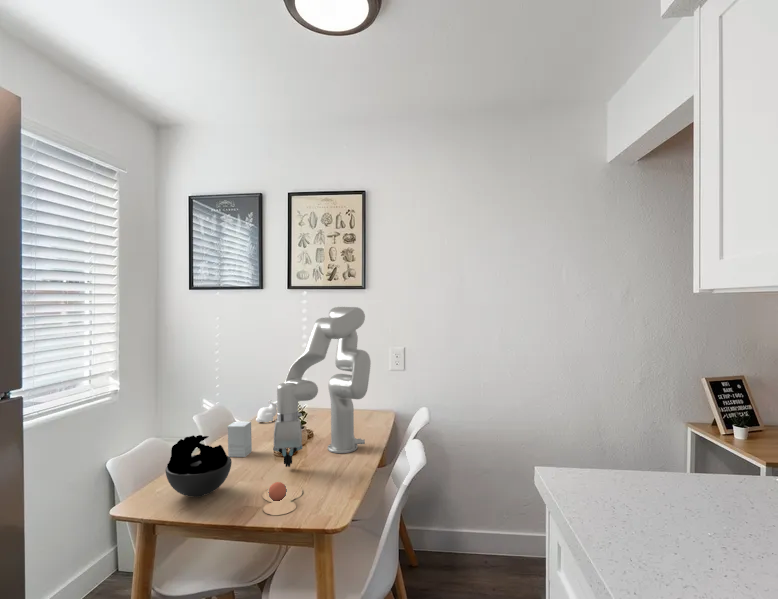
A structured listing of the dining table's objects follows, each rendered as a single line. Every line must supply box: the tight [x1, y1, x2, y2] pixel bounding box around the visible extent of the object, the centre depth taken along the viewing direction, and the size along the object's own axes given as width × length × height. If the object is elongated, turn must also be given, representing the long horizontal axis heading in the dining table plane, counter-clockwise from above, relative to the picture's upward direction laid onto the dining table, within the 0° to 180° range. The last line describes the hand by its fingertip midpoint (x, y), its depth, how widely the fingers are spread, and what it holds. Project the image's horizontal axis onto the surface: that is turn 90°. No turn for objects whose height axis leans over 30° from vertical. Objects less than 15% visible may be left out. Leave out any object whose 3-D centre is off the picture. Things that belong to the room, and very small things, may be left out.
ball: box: [268, 481, 287, 501], centre depth 146 cm, size 6×6×6 cm
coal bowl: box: [165, 434, 233, 498], centre depth 151 cm, size 20×20×19 cm
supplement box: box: [227, 421, 253, 458], centre depth 189 cm, size 7×7×13 cm
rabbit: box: [255, 398, 277, 423], centre depth 238 cm, size 12×9×12 cm
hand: (288, 465), depth 172 cm, fingers closed
